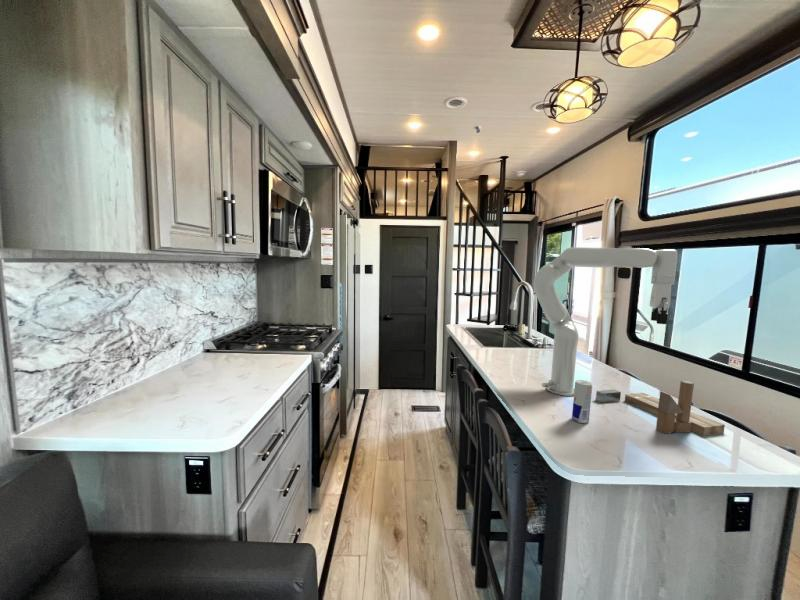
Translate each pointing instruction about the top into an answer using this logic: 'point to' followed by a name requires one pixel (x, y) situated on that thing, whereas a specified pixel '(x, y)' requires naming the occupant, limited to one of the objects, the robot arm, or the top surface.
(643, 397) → the light brown wooden board
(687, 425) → the wooden bracket
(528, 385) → the top surface
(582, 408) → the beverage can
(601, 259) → the robot arm
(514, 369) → the top surface
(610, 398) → the metal block
